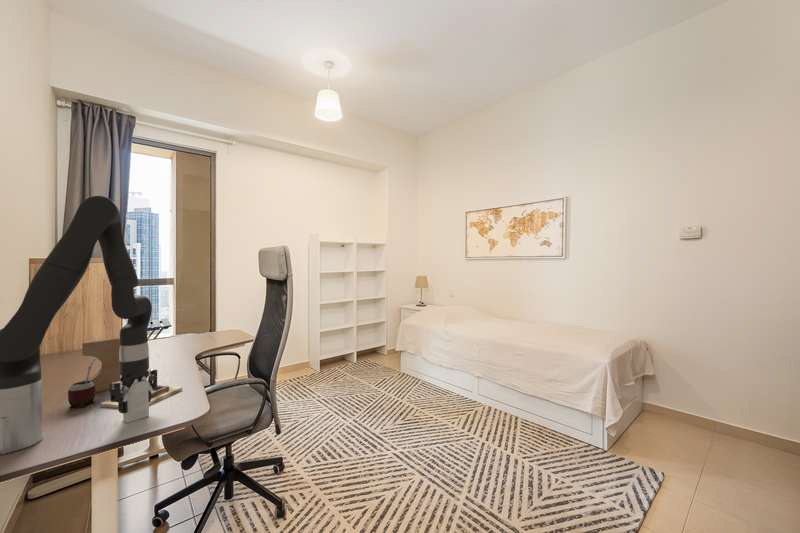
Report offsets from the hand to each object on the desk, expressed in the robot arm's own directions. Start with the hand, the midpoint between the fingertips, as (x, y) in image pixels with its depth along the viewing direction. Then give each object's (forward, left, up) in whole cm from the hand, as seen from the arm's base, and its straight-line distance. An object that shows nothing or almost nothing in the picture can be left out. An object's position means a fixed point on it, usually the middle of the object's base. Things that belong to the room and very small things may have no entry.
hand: (135, 407), depth 107 cm
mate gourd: (+5, +29, -4) cm, 30 cm away
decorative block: (+18, +38, -4) cm, 42 cm away
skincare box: (0, 0, -4) cm, 4 cm away
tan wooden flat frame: (+14, +13, -3) cm, 19 cm away
